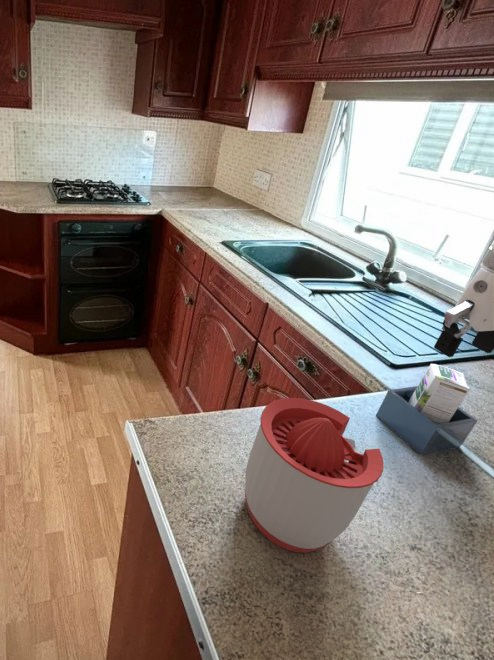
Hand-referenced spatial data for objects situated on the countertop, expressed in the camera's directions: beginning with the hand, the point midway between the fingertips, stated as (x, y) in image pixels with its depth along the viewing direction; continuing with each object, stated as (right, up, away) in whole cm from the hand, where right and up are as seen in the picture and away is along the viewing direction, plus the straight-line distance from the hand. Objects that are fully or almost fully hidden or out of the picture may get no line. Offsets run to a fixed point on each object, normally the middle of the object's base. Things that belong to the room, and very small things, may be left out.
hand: (462, 350), depth 74 cm
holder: (-2, -18, +9) cm, 20 cm away
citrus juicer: (-36, -24, -11) cm, 45 cm away
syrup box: (-2, -18, +9) cm, 20 cm away
